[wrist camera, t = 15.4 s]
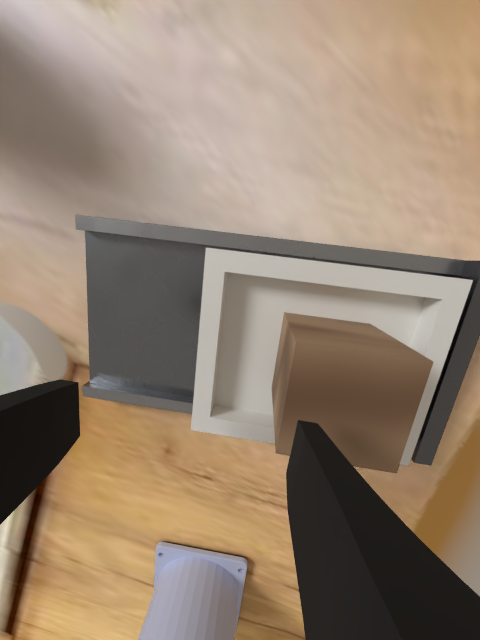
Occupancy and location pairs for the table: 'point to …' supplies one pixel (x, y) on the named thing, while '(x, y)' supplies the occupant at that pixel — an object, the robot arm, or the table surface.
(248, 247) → the track
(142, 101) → the table surface
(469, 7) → the table surface
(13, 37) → the table surface
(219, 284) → the white shallow tray
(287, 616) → the table surface
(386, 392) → the walnut block
